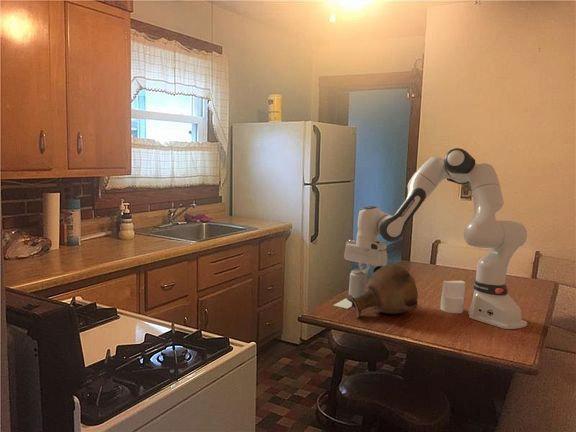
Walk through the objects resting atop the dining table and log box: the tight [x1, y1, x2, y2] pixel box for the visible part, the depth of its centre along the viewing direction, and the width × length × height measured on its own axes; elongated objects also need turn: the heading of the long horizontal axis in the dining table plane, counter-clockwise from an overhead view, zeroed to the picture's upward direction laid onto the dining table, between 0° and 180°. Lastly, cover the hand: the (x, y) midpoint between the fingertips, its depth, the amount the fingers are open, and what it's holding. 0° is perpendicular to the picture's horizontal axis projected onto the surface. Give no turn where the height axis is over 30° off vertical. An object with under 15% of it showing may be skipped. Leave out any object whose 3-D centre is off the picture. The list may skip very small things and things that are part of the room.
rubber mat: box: [332, 298, 353, 310], centre depth 209 cm, size 12×6×1 cm, turn 149°
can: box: [348, 269, 368, 298], centre depth 219 cm, size 8×8×12 cm
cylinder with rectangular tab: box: [440, 280, 466, 314], centre depth 209 cm, size 9×9×12 cm
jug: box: [345, 263, 419, 318], centre depth 199 cm, size 20×20×30 cm
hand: (363, 273), depth 224 cm, fingers closed
